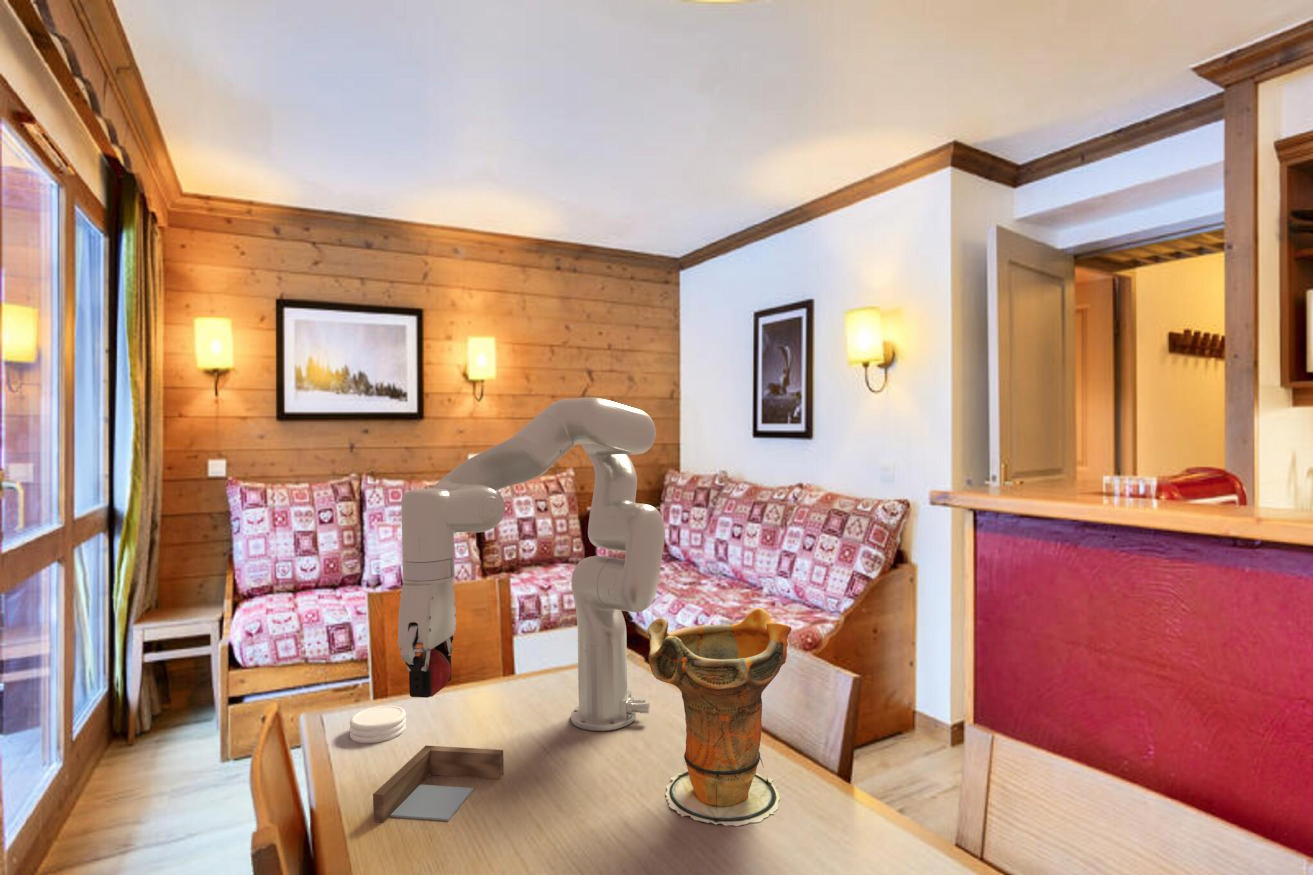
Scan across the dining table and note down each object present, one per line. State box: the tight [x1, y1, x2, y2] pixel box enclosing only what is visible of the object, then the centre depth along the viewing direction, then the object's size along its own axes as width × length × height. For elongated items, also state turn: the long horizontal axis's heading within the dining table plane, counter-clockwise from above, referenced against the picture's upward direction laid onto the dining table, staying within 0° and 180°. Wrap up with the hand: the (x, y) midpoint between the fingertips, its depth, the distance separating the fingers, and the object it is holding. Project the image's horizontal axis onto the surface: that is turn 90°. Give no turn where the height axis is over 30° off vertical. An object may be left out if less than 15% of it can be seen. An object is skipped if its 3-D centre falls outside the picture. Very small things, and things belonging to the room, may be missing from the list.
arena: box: [372, 745, 505, 823], centre depth 109 cm, size 14×16×4 cm
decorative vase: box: [646, 607, 792, 827], centre depth 108 cm, size 21×23×28 cm
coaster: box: [349, 705, 407, 744], centre depth 134 cm, size 10×10×4 cm
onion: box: [418, 648, 452, 698], centre depth 108 cm, size 6×6×8 cm
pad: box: [390, 784, 475, 822], centre depth 107 cm, size 9×9×1 cm
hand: (431, 687), depth 108 cm, fingers closed on onion, 5 cm apart
